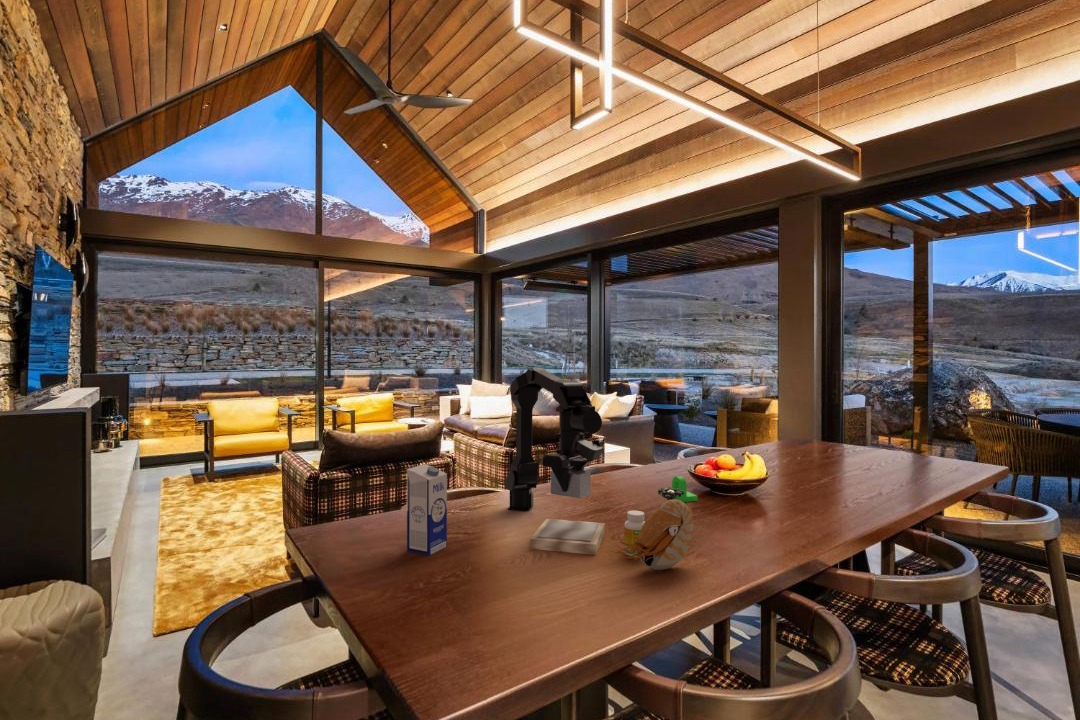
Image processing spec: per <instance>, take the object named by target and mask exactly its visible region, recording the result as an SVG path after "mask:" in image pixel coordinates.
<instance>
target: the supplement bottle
mask: <svg viewBox="0 0 1080 720" xmlns="http://www.w3.org/2000/svg"><path fill="white" fill-rule="evenodd" d="M626 513H627V515H626V517H627V520H625V522H624V527H623V528H624V532H623V535H624V538H623V540H624V541H623V542H624V543H625V544H631V545H633V544H634V543H635V542H636V541H637V539H638V537H639V533H640V531H641V528H642V526H643V524H644V523H645V521H646V520H645V512H644V511H641V510H640V511H639V510H628V511H627V512H626ZM625 544H623V545H624V547H623V549H624V548H627V547H628V546H631V545H628V546H626V545H625ZM633 546H634V545H633ZM633 546H631V547H633ZM627 549H628V548H627ZM628 550H631V549H628ZM626 552H628V551H626V550H625V551H624V550H623V553H626ZM631 552H633V551H629V552H628V553H626V554H628V555H630V556H633V555H635V554H637V552H639V551H638V550H636V551H634V552H633V553H631ZM629 553H630V554H629ZM630 556H629V557H630ZM633 557H638V556H633Z"/></svg>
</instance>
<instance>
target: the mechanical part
mask: <svg viewBox="0 0 1080 720" xmlns="http://www.w3.org/2000/svg"><path fill="white" fill-rule="evenodd" d="M687 487H688V485H687V482H686V479H685V477H683V476H682V475H680V476H676V475H675V476H674V477H673V478H672V480H671V488H672V489H676V488H679V489H680V490H683V491H684V495H682V497H678V495H677V496H676V498H675V499H676V500H680V501H682V502H684V503H688V502H698V495H696V494H694V493H691V492H690V491H688V489H687ZM664 488H665V489H668V487H664ZM666 496H667V495H666Z"/></svg>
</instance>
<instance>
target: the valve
mask: <svg viewBox="0 0 1080 720" xmlns="http://www.w3.org/2000/svg"><path fill="white" fill-rule="evenodd" d="M665 488H666V487H661V488H660V489H658V490H657V494H658V495H661V496H662V497H663V498H664V499H666V501H667V500H673V499H675V498H676V496H677V495H678V497H682V495H684V491H683V490H680V489H679V488H676V489H672V486H671V487H667V488H668V489H665ZM666 495H667V496H666Z"/></svg>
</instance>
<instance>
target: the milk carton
mask: <svg viewBox="0 0 1080 720" xmlns="http://www.w3.org/2000/svg"><path fill="white" fill-rule="evenodd" d="M447 510H448V473H447V472H444V471H442V470H440V469H439V468H437V467H434V466H432V465H429V464H426V463H425V464H424V463H423V464H421V465H418V466H414V467H410V468H407V469H406V551H407V552H410V553H415V554H420V555H424V556H425V555H426V556H431V555H433V554H435V553H437V552H440V551H441V550H443V549H445V548H447V546H448V544H447V543H448V541H447V539H448V537H447V536H448V535H447V533H448V531H447V530H448V520H447V519H448V511H447Z"/></svg>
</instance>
